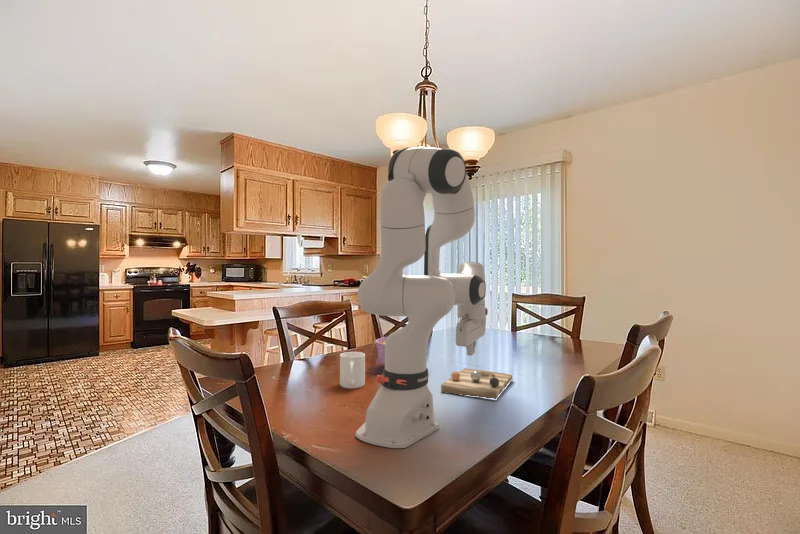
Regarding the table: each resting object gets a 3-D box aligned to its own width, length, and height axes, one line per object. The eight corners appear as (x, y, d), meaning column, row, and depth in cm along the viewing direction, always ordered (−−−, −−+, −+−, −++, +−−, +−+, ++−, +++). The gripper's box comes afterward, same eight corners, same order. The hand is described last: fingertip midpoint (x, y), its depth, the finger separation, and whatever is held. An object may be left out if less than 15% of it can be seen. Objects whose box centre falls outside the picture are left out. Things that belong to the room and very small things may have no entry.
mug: (337, 392, 129) (337, 359, 129) (341, 381, 141) (341, 351, 141) (363, 392, 130) (363, 359, 130) (365, 381, 142) (365, 351, 142)
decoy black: (497, 388, 126) (497, 379, 126) (488, 387, 127) (488, 378, 127) (500, 386, 129) (500, 377, 129) (490, 384, 130) (491, 375, 130)
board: (495, 401, 122) (495, 393, 122) (441, 392, 130) (441, 384, 130) (512, 381, 143) (512, 374, 143) (464, 374, 151) (464, 368, 151)
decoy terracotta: (458, 382, 133) (458, 373, 133) (449, 380, 135) (449, 371, 135) (461, 379, 136) (461, 371, 136) (452, 378, 137) (453, 369, 137)
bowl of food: (426, 364, 168) (426, 336, 167) (424, 377, 148) (424, 346, 148) (379, 362, 169) (379, 335, 169) (371, 375, 150) (371, 344, 150)
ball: (479, 383, 132) (479, 373, 132) (469, 382, 133) (469, 371, 133) (482, 380, 135) (482, 370, 135) (472, 379, 136) (472, 369, 136)
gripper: (470, 317, 118) (470, 363, 118) (489, 308, 136) (488, 349, 136) (450, 315, 120) (450, 361, 121) (471, 307, 139) (471, 347, 139)
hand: (470, 354), depth 129 cm, fingers closed
